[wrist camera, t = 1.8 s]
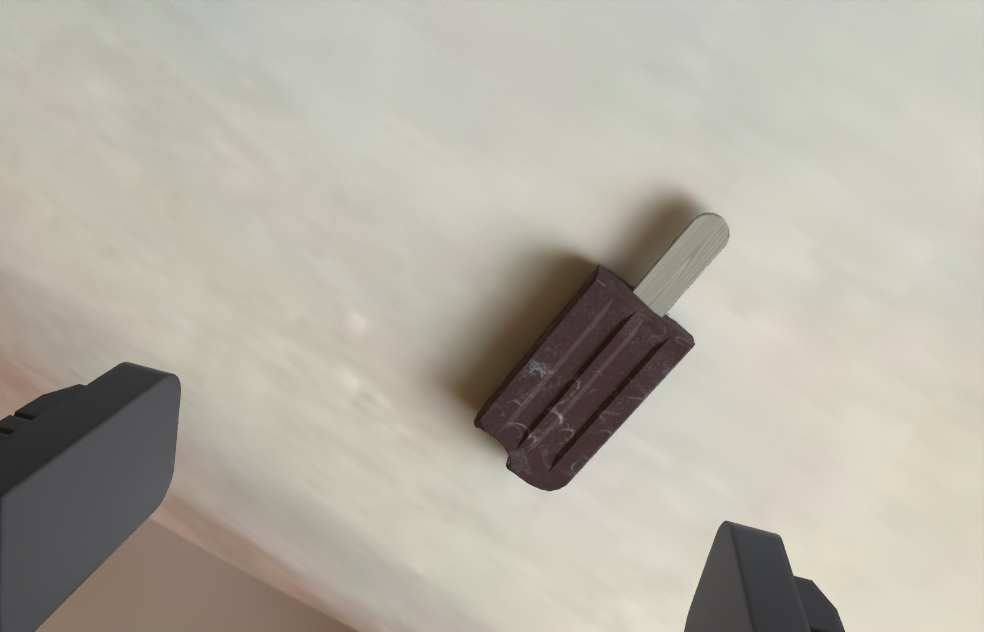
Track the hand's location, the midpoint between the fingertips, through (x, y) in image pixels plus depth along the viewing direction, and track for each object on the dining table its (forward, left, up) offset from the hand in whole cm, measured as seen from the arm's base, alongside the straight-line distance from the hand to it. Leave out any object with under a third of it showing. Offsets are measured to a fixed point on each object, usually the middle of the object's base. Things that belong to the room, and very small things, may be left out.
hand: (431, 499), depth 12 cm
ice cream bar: (+5, -5, -26) cm, 27 cm away
